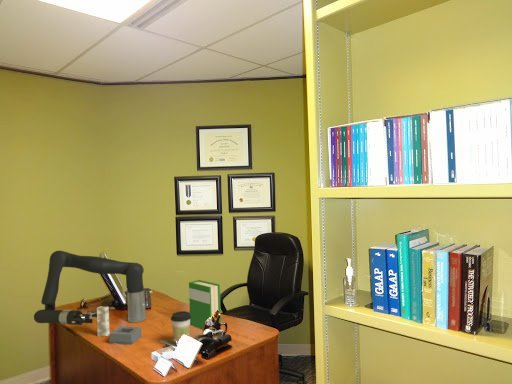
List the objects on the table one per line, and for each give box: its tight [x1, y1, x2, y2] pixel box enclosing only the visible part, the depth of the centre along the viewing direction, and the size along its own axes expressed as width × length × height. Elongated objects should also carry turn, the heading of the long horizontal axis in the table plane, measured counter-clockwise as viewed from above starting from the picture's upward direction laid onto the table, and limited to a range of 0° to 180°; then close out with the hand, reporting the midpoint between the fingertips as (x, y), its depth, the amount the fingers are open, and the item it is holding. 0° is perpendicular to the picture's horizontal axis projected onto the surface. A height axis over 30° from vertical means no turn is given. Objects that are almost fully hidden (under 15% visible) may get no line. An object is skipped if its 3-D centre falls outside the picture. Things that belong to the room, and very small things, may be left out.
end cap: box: [108, 326, 143, 346], centre depth 194 cm, size 12×10×5 cm
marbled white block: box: [96, 305, 111, 337], centre depth 201 cm, size 5×3×15 cm, turn 78°
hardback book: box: [188, 279, 222, 330], centre depth 209 cm, size 18×7×24 cm, turn 48°
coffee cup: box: [170, 311, 191, 342], centre depth 186 cm, size 10×10×15 cm
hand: (97, 318), depth 202 cm, fingers open, 8 cm apart
